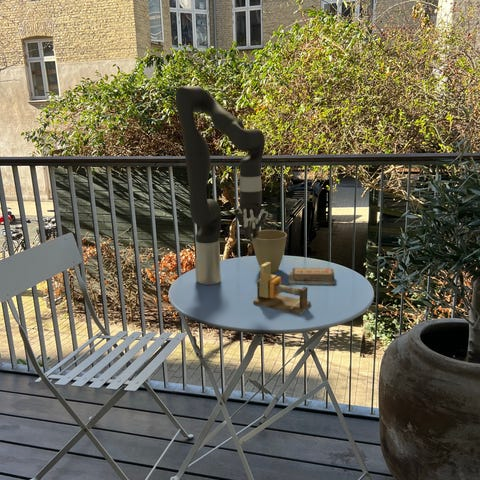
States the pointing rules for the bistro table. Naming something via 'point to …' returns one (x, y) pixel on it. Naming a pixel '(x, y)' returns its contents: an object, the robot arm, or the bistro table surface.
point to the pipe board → (285, 299)
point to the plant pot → (270, 247)
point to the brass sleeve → (265, 279)
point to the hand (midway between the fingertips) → (251, 237)
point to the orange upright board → (272, 293)
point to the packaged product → (312, 276)
